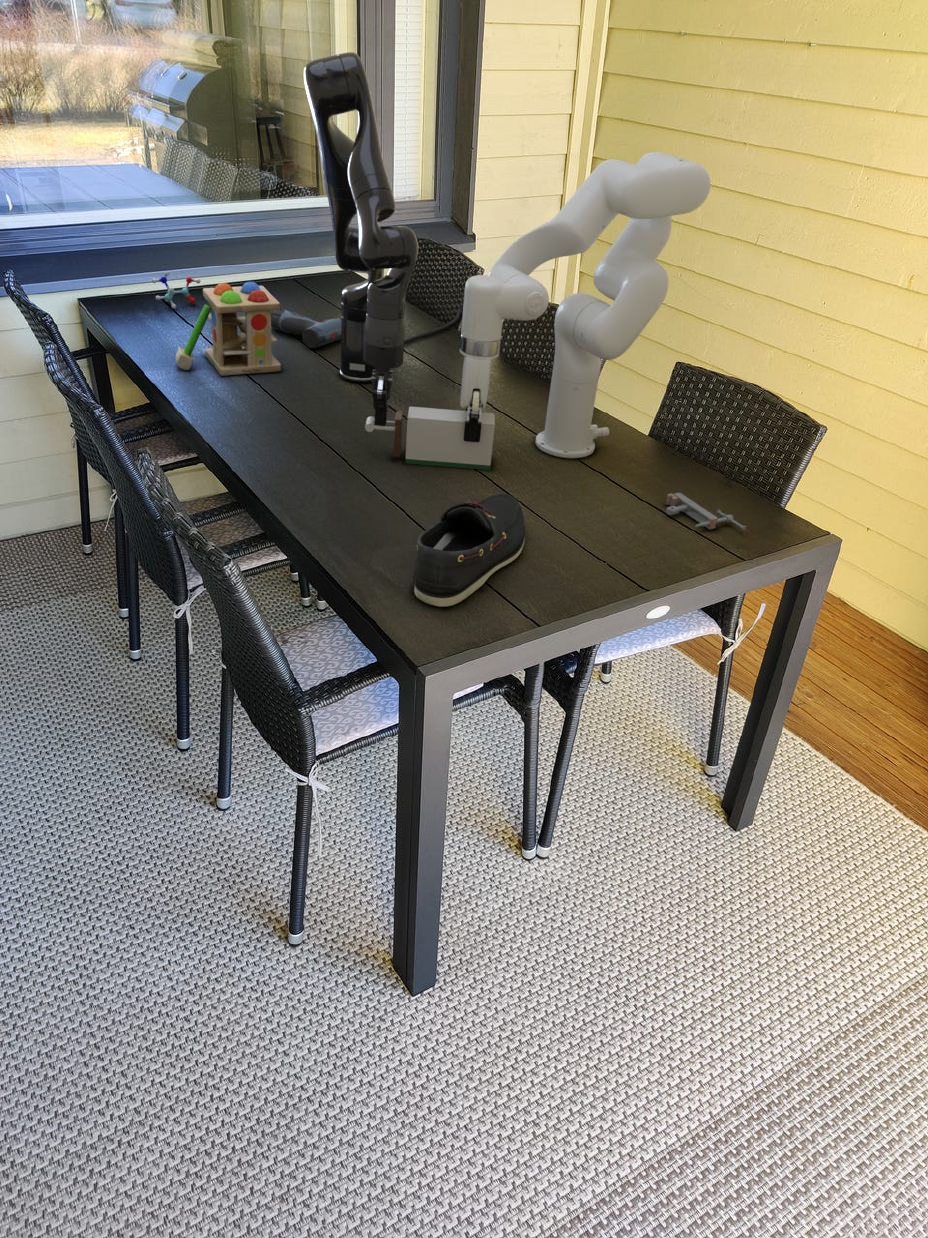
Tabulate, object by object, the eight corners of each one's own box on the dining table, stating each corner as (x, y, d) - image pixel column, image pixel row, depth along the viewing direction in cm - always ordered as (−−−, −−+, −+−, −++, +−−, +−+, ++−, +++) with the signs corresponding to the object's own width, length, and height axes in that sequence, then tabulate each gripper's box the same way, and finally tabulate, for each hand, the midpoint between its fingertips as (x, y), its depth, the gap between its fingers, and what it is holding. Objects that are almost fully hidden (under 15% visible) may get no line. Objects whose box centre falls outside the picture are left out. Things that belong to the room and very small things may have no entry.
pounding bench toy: (183, 379, 220) (176, 299, 210) (169, 357, 231) (162, 280, 221) (282, 371, 230) (280, 294, 220) (264, 350, 240) (262, 276, 230)
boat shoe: (551, 538, 175) (557, 484, 170) (450, 614, 151) (453, 554, 146) (489, 517, 181) (493, 465, 175) (383, 588, 157) (383, 530, 151)
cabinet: (405, 463, 195) (407, 417, 189) (406, 451, 200) (409, 406, 194) (490, 469, 196) (494, 424, 190) (489, 458, 200) (494, 413, 195)
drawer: (364, 454, 195) (365, 416, 190) (366, 445, 198) (367, 408, 194) (472, 463, 195) (476, 425, 191) (473, 453, 199) (476, 417, 195)
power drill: (305, 316, 264) (364, 334, 256) (257, 332, 251) (318, 351, 243) (305, 296, 261) (365, 314, 253) (257, 311, 248) (318, 330, 240)
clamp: (655, 496, 187) (694, 487, 191) (652, 506, 188) (692, 497, 192) (708, 532, 176) (748, 523, 181) (705, 543, 177) (745, 533, 182)
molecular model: (184, 300, 255) (170, 262, 254) (156, 313, 259) (142, 276, 258) (209, 302, 266) (196, 266, 265) (181, 315, 270) (168, 279, 268)
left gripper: (367, 326, 189) (364, 411, 199) (360, 348, 178) (357, 436, 188) (406, 329, 189) (401, 414, 199) (401, 351, 178) (396, 440, 188)
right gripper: (460, 328, 191) (453, 416, 201) (459, 359, 177) (451, 451, 187) (499, 332, 191) (490, 419, 202) (500, 362, 177) (490, 454, 187)
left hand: (380, 425), depth 193 cm, fingers closed
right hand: (471, 433), depth 194 cm, fingers closed on cabinet, 5 cm apart
